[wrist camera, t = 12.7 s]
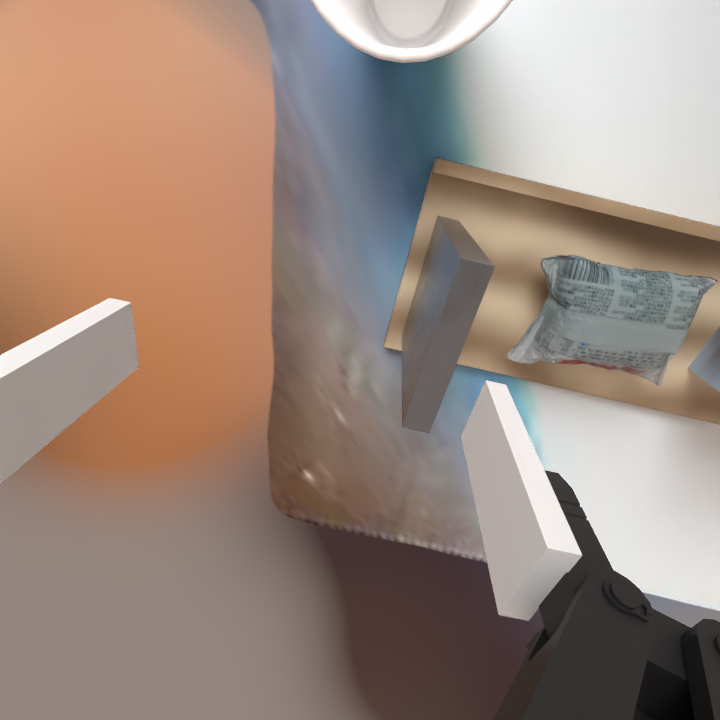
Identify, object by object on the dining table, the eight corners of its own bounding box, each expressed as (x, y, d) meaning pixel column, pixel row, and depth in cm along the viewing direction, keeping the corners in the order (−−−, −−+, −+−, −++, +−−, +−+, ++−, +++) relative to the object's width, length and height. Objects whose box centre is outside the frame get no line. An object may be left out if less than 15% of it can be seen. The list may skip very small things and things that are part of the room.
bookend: (437, 215, 27) (460, 258, 17) (459, 220, 27) (495, 266, 17) (401, 336, 32) (402, 427, 22) (419, 340, 32) (428, 433, 22)
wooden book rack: (434, 157, 27) (459, 166, 15) (863, 261, 27) (1188, 342, 16) (384, 341, 34) (376, 438, 23) (722, 419, 35) (876, 550, 24)
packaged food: (638, 369, 32) (677, 402, 28) (499, 347, 32) (516, 378, 27) (696, 267, 28) (753, 288, 23) (536, 242, 28) (564, 259, 23)
